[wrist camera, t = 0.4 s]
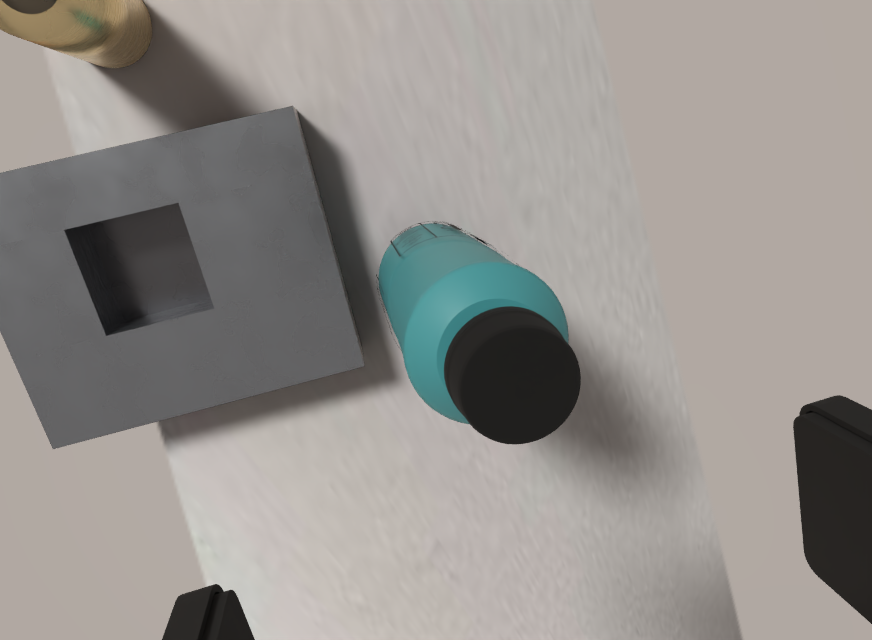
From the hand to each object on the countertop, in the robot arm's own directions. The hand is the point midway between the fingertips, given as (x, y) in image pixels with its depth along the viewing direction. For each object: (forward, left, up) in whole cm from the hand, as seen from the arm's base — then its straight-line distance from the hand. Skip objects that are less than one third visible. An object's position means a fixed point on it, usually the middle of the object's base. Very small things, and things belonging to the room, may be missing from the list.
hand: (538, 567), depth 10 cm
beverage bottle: (+1, +2, -29) cm, 29 cm away
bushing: (-15, -11, -29) cm, 34 cm away
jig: (-2, -11, -29) cm, 31 cm away
